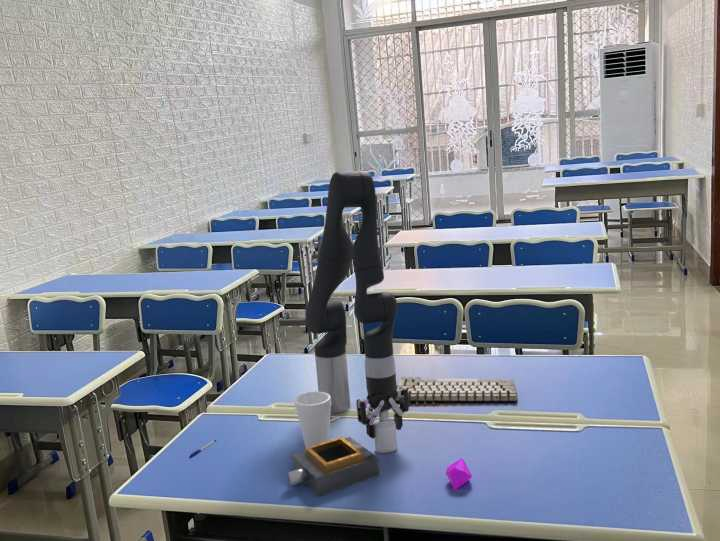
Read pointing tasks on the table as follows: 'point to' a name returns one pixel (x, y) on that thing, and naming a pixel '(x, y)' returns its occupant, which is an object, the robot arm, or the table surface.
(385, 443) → the eye dropper bottle
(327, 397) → the foam cup
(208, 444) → the ballpoint pen
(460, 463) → the crystal
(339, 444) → the gearbox housing
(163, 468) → the table surface
